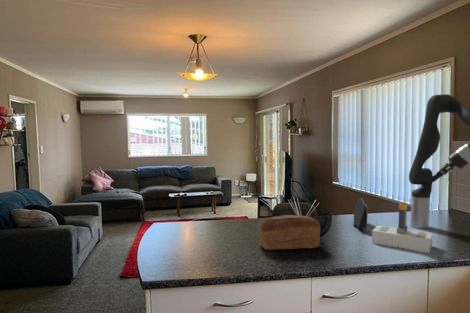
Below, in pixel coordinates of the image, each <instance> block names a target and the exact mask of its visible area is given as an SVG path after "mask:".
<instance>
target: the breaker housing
mask: <svg viewBox="0 0 470 313" xmlns="http://www.w3.org/2000/svg"><path fill="white" fill-rule="evenodd" d="M371 232H372V233H371V243H372V244H375V245H376V244H377V245H383V246H386V245H387V247H392V246H393V247H392V248H397V247H399V248H398V249H402V248H404V249H403V250H408V249H409V250H410V251H413V250H414V252H419V253H424V252H425V254H430V252H431V250H432V248H433V242H434V241H433V238H434V235H433V234H434V233H432V232H425V231H424V232H423V231H419V230H413V229H408V225H406V229H402V228H398V227H391V226H385V225H377V226H376V227H375V228H373V229H372V230H371Z"/></svg>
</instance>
